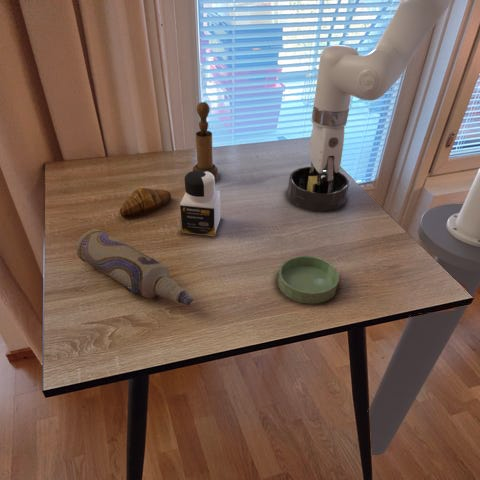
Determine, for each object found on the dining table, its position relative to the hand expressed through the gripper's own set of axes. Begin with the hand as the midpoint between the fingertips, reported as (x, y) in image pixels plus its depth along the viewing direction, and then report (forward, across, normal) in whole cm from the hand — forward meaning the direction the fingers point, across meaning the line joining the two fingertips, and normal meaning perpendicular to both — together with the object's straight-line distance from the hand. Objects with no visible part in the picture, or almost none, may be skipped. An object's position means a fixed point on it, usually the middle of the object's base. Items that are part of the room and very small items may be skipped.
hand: (316, 193), depth 102 cm
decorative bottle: (+1, -28, +43) cm, 52 cm away
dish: (+1, -32, +11) cm, 34 cm away
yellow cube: (0, 0, 0) cm, 0 cm away
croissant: (+1, -1, +41) cm, 41 cm away
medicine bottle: (+1, -10, +29) cm, 31 cm away
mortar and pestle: (+1, +13, +26) cm, 29 cm away
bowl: (+1, 0, 0) cm, 1 cm away
